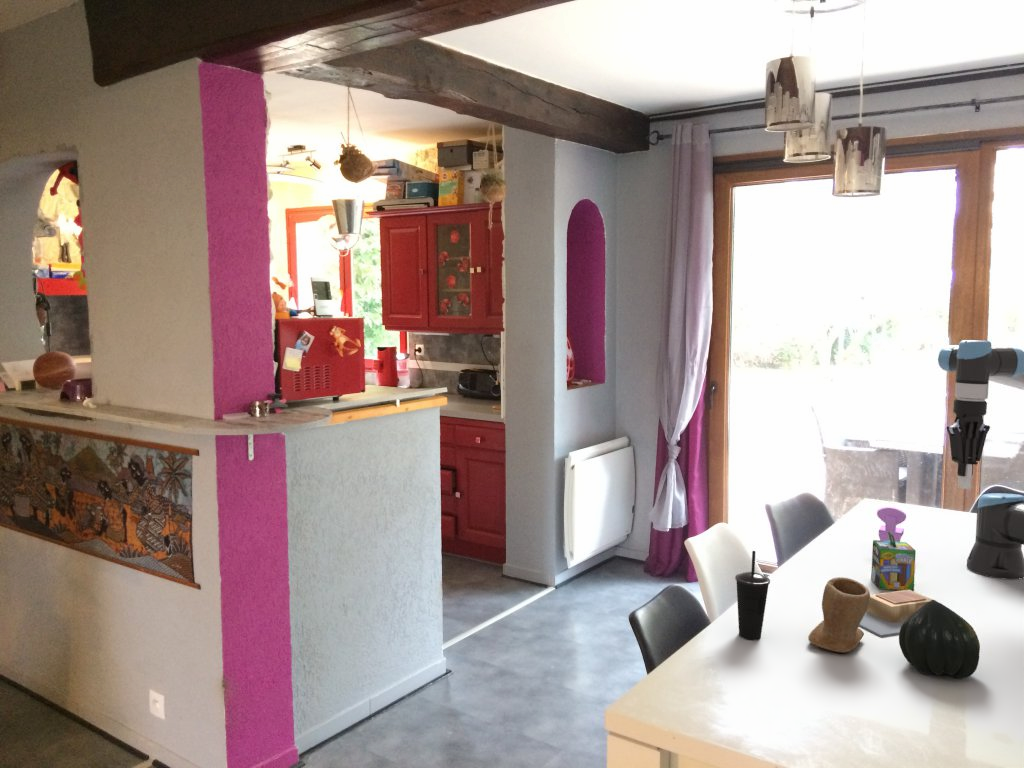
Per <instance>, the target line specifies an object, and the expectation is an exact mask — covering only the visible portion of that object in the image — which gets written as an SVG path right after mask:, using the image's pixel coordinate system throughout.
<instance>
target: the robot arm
mask: <svg viewBox="0 0 1024 768" xmlns="http://www.w3.org/2000/svg"><path fill="white" fill-rule="evenodd" d="M937 363H938V365H939V367H940V368H941V370H943V371H945V372H950V373H955V388H954V397H955V399H954V400H953V408H952V409H953V410H952V411H953V414H955V419H954V423H953V424H952V425H947V426H946V430H947V433H948V435H949V445H950V454H951V461H953V462H954V463H956V464H957V488H959V489H964V490H971V487H972V478H973V477H972V476H973V474H974V465H975V466H977V465H978V462H980V461H981V458H982V455H983V450H984V446H985V443H986V438H987V435H988V433H989V431H990V429H991V426H990V425H987V424H986V423H984V417H983V416H986V414H987V409H988V402H987V401H986V400H987V399H988V398H989V382H994V383H996V384H1001V385H1004V386H1008V387H1012V388H1016V389H1019V390H1022V391H1024V350H1022V349H1021V348H1013V347H993V346H992V342H991V341H990V340H977V339H976V340H975V339H974V340H971V339H964V340H961V341H959V343H958V344H953V345H952V344H951V345H945V346H944V347H942V349H940V351H939V353H938V357H937ZM977 504H978V505H977V508H976V509H977V510H976V522H975V524H976V527H975V541H974V544H973V546H972V548H971V550H970V552H969V555H968V557H967V559H966V568H967V569H968V570H970V571H972V572H974V573H976V574H979V575H982V576H986V575H987V577H990V576H991V578H995V577H996V578H997V579H1002V578H1005V579H1004V580H1020V579H1019V578H1022V579H1024V578H1023V577H1024V553H1023V549H1022V546H1024V495H1022V494H1015V493H1002V492H999V493H997V492H996V493H995V492H994V493H992V492H991V493H984V494H982V495H980V496H979V498H978V503H977Z"/></svg>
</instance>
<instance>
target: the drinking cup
mask: <svg viewBox="0 0 1024 768" xmlns="http://www.w3.org/2000/svg"><path fill="white" fill-rule="evenodd" d="M751 553H752V555H751V571H744V572H741V573H738V574H736V575H735V577H734V579H735V582H736V597H737V598H736V599H737V616H738V618H737V620H738V635H739V637H741V638H742V639H744V640H749V641H756V640H757V641H758V640H760V639H761V637H762V632H763V624H764V617H765V612H766V611H765V610H766V604H767V598H768V597H767V596H768V590H769V585H770V584H771V579H770V578H769V577H768V576H765V575H763V573H762V574H761V573H759V572H756V570H755V569H756V568H755V567H756V566H755V565H756V551H755V550H752V552H751Z"/></svg>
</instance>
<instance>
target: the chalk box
mask: <svg viewBox="0 0 1024 768" xmlns="http://www.w3.org/2000/svg"><path fill="white" fill-rule="evenodd" d="M888 534H889V538H890V541H880V539H879V540H876V539H873V541H872V553H871V554H872V556H871V575H870V580H872V582H873V584H875V586H876V587H877V589H878V588H879V590H892V591H902V590H911V591H914V592H915V573H916V549H915V548H913V547H912V546H911V545H910V544H909V543H908V542H905V541H900V542H896V541H895V540H894V536H893V534H892V533H891V532H890V531H888ZM891 537H892V538H891ZM892 539H893V541H892Z"/></svg>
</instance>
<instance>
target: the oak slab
mask: <svg viewBox="0 0 1024 768" xmlns="http://www.w3.org/2000/svg"><path fill="white" fill-rule="evenodd" d="M931 600H934V599H933V598H930V597H928V596H926V595H923V594H921V593H918V592H916V591H915V590H914V591H911V590H894V591H888V592H881V593H875V594H870V599H869V605H868V609H867V612H869V613H871V614H873V615H875V616H877V617H879V618H882V619H884V620H886V621H888V622H890V623H893V622H899V621H905V620H906V619H907V618H908V617H909V616H911V615H912V614H913V613H914V612H916V611H917V610H918V609H920V608H921V607H922V606H923V605H924V604H926V603H927V602H929V601H931Z"/></svg>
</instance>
